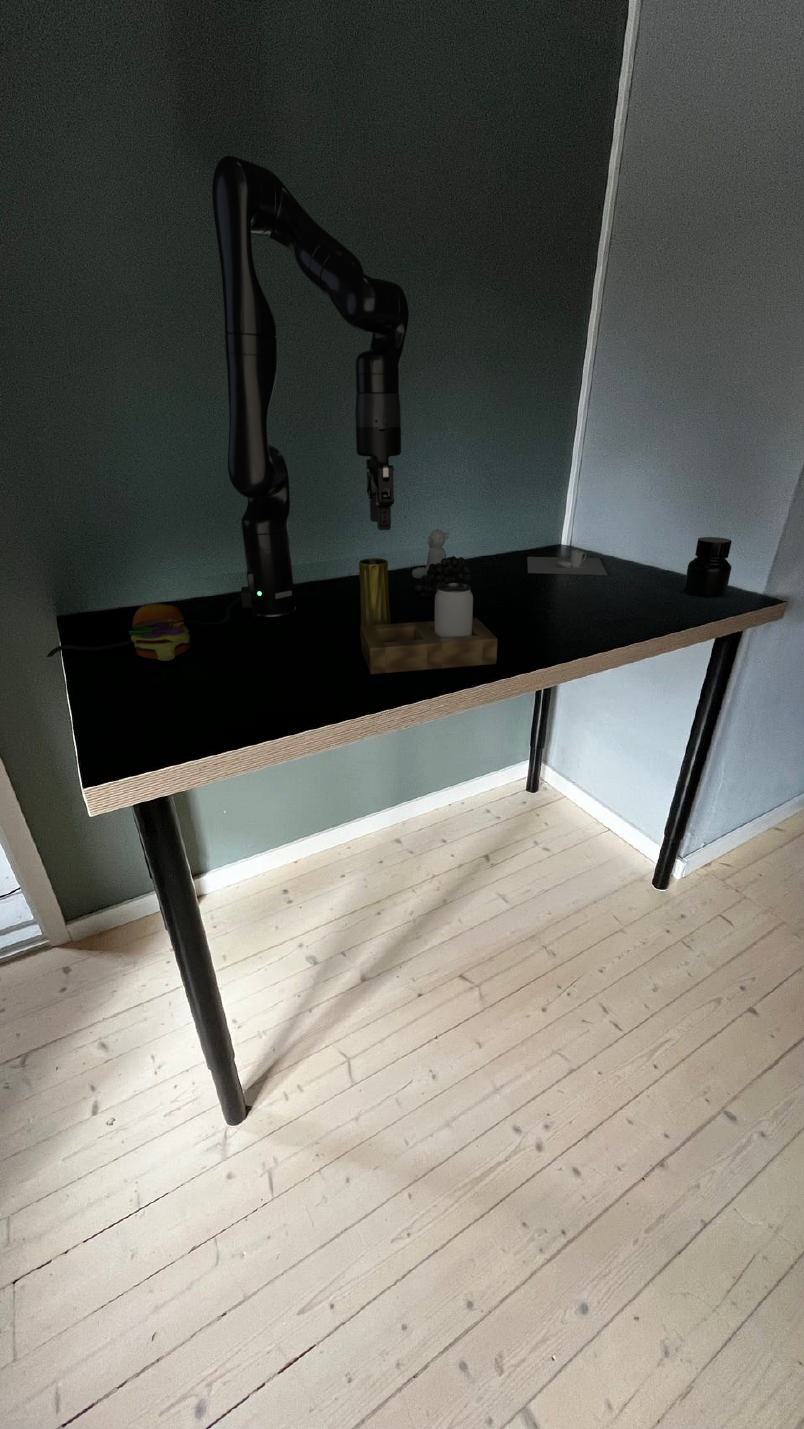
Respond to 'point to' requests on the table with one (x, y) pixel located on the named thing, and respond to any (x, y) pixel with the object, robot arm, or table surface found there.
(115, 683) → the table surface
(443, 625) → the can
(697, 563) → the ink bottle
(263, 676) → the table surface
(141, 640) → the cheeseburger
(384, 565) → the vase
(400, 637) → the holder
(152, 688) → the table surface
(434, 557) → the sitting furry creature
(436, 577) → the fruit
